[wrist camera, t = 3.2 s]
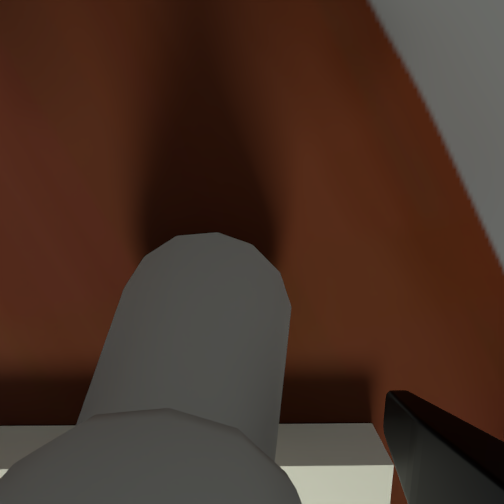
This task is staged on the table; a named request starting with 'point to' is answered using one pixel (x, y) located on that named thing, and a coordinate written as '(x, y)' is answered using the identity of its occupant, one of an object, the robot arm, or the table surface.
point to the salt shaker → (178, 389)
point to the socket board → (280, 459)
